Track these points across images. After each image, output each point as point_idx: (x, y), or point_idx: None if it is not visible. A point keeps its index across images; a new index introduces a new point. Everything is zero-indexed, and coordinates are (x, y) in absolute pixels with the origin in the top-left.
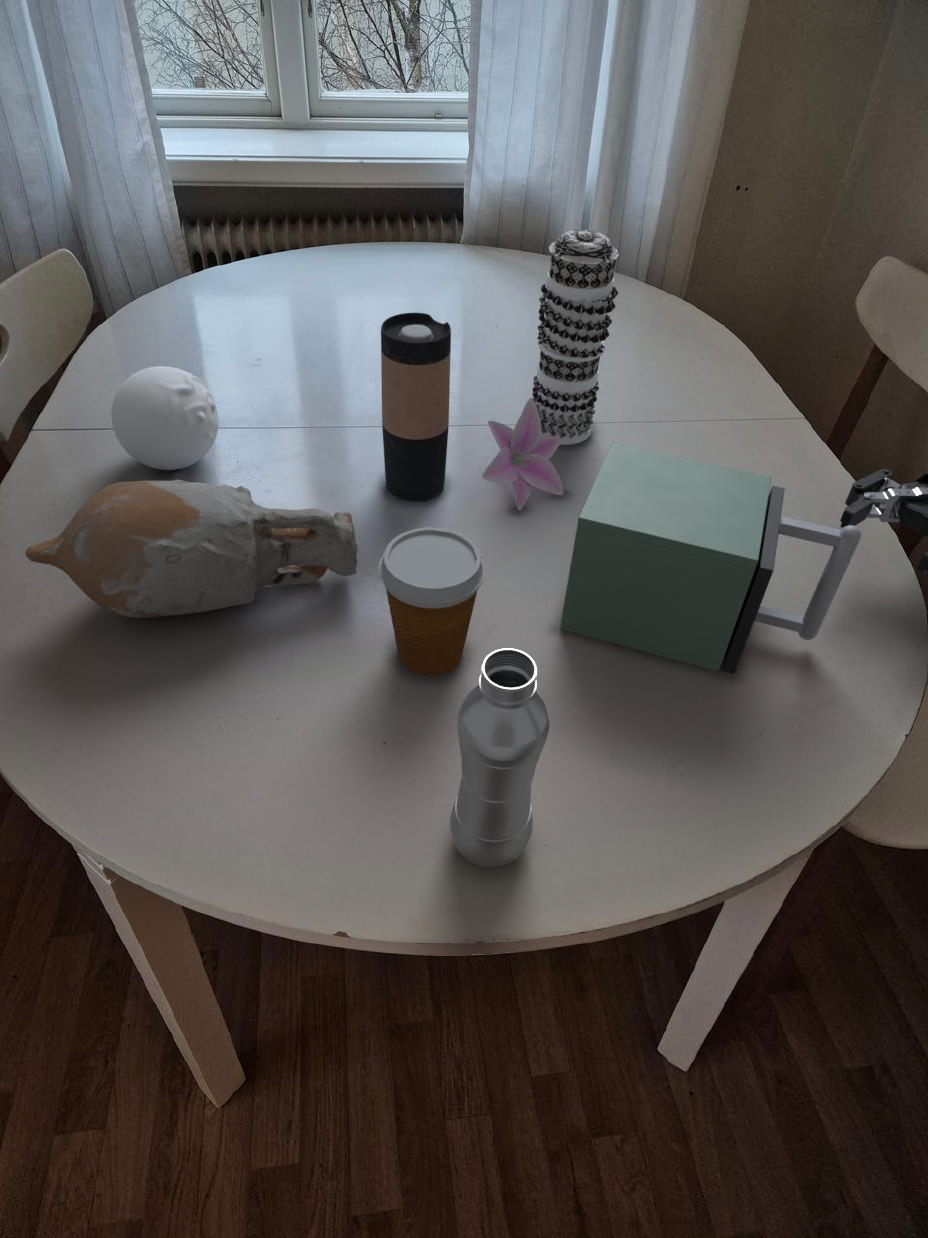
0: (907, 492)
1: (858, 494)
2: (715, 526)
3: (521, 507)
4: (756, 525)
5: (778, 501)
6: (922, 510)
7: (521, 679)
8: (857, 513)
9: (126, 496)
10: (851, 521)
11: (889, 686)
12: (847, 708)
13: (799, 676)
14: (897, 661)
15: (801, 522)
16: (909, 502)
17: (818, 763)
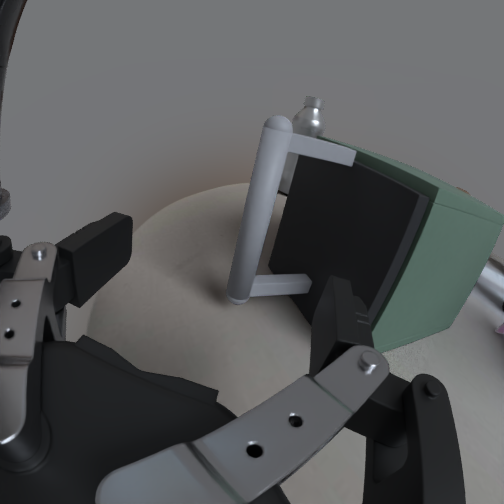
0: (263, 443)
1: (396, 378)
2: (372, 153)
3: (497, 332)
4: (357, 149)
5: (392, 179)
6: (137, 384)
7: (314, 109)
8: (329, 292)
9: (462, 189)
10: (322, 302)
11: (123, 294)
12: (163, 264)
13: (217, 279)
14: (113, 330)
15: (335, 144)
16: (215, 419)
17: (176, 228)
